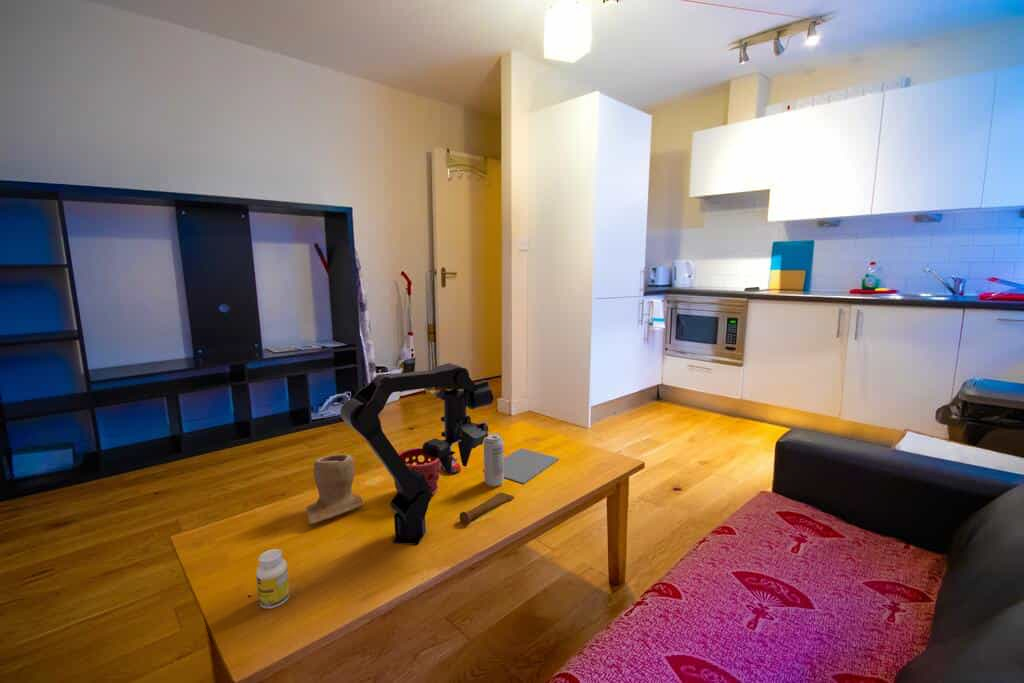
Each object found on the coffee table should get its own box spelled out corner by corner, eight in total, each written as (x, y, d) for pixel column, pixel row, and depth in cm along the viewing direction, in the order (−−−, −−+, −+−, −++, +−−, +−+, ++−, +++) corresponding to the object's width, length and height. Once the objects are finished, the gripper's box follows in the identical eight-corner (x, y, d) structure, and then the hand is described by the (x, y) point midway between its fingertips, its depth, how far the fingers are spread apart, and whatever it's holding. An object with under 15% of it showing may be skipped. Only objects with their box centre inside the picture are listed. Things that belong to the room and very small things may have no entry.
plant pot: (401, 509, 121) (399, 468, 119) (393, 488, 133) (391, 451, 131) (447, 499, 127) (446, 459, 125) (435, 480, 138) (434, 443, 137)
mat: (523, 484, 135) (523, 482, 135) (483, 471, 144) (483, 469, 144) (559, 459, 153) (559, 458, 153) (521, 449, 162) (521, 448, 162)
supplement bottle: (252, 605, 87) (247, 560, 85) (276, 587, 92) (271, 544, 90) (273, 613, 85) (268, 566, 83) (296, 593, 90) (292, 549, 88)
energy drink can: (495, 476, 140) (494, 431, 138) (508, 483, 136) (507, 436, 134) (480, 482, 136) (479, 436, 134) (493, 489, 132) (492, 441, 130)
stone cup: (351, 493, 130) (347, 445, 128) (368, 509, 122) (365, 457, 119) (296, 512, 120) (291, 460, 118) (311, 530, 112) (306, 475, 109)
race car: (463, 473, 144) (462, 461, 143) (447, 477, 141) (446, 465, 140) (449, 458, 155) (449, 447, 154) (434, 461, 153) (434, 450, 152)
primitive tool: (501, 493, 130) (500, 482, 130) (516, 498, 127) (516, 487, 127) (457, 524, 115) (457, 511, 114) (473, 531, 112) (473, 518, 111)
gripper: (453, 429, 101) (455, 493, 104) (502, 409, 116) (502, 465, 119) (419, 420, 108) (422, 480, 110) (470, 402, 123) (471, 455, 125)
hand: (457, 470), depth 116 cm, fingers open, 6 cm apart
